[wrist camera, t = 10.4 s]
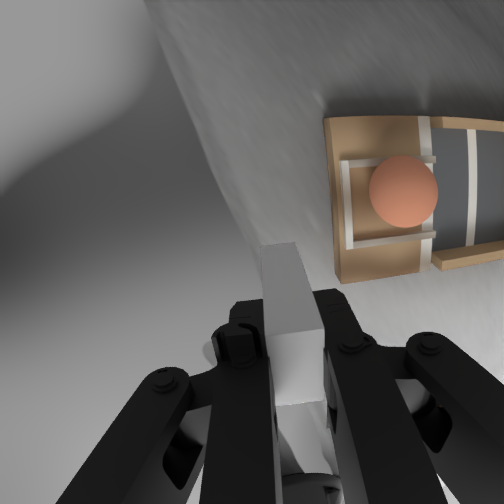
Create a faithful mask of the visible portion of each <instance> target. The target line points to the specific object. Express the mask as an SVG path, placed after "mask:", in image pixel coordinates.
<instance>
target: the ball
mask: <svg viewBox="0 0 504 504" xmlns="http://www.w3.org/2000/svg"><path fill="white" fill-rule="evenodd" d="M369 195H370V200H371V203H372V206H373V208H374V210H375V211H376V213H377V214H378V215H379V216H380V217H381V218H382V219H383V220H384V221H386V222H387V223H389V224H391V225H393V226H396V227H403V228H409V227H414V226H417V225H419V224H421V223H423V222H424V221H425V220H427V219H428V218H429V216H430V215H431V214H432V213H433V211H434V209H435V207H436V204H437V200H438V186H437V182H436V179H435V177H434V175H433V173H432V172H431V170H430V169H429V168H428V167H427V166H426V165H425V164H424V163H423V162H422V161H420V160H418V159H416V158H414V157H411V156H406V155H398V156H393V157H390V158H388V159H386V160H384V161H383V162H382V163H381V164H379V165H378V166H377V168H376V169H375V171H374V172H373V174H372V177H371V180H370V184H369Z"/></svg>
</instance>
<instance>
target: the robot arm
mask: <svg viewBox="0 0 504 504" xmlns="http://www.w3.org/2000/svg"><path fill="white" fill-rule="evenodd" d="M261 266H262V286H263V299H258V300H249V301H240V302H236V304H235V305H234V306H233V307H232V308H231V310H230V315H229V323H227V324H225V325H223V326H220V327H219V328H218V329H217V330H215V332H214V333H213V335H212V337H211V339H212V343H213V347H214V351H215V355H216V358H217V362H218V363H217V366H216V367H214V368H213V369H211V370H209V371H206V372H204V373H201V374H197V375H194V376H190V377H189V375H188V373H187V372H185V371H184V370H183V369H180V368H177V367H165V368H161V369H157V370H155V371H154V372H152V373H150V374H149V375H148V376H147V377H146V378H145V379H144V380H143V381H142V382H141V384H140V385H139V387H138V388H137V390H136V391H135V392H134V394H133V395H132V396H131V398H130V399H129V401H128V402H127V403H126V405H125V406H124V407H123V409H122V410H121V412H120V413H119V414H118V416H117V417H116V419H115V420H114V421H113V423H112V424H111V426H110V427H109V428H108V430H107V431H106V433H105V434H104V436H103V437H102V438H101V440H100V441H99V442H98V444H97V445H96V447H95V448H94V450H93V451H92V453H91V454H90V455H89V457H88V458H87V460H86V461H85V462H84V464H83V465H82V466H81V468H80V469H79V471H78V472H77V474H76V475H75V476H74V478H73V479H72V481H71V482H70V484H69V485H68V486H67V488H66V489H65V491H64V492H63V494H62V495H61V496H60V498H59V499H58V501H57V502H56V504H186V502H187V500H188V498H189V496H190V493H191V491H192V488H193V487H194V484H195V482H196V480H197V478H198V476H199V473H200V471H201V469H202V466H203V464H204V468H203V476H202V484H201V493H200V501H199V504H342V502H343V497H344V500H345V504H448V502H447V499H446V497H445V494H444V492H443V489H442V486H441V484H440V481H439V479H438V476H437V474H438V475H439V477H440V478H441V479H442V481H443V482H444V483H445V485H446V486H447V487H448V488H449V490H450V491H451V492H452V494H453V495H454V496H455V498H456V499H457V500H458V501H459V503H460V504H504V385H503V384H502V383H501V382H500V381H499V380H498V379H496V378H495V377H494V376H493V375H492V374H490V373H489V372H488V371H487V370H486V369H485V368H483V367H482V366H481V365H480V364H479V363H477V362H476V361H475V360H474V359H473V358H471V357H470V356H469V355H468V354H466V353H465V352H464V351H463V350H462V349H460V348H459V347H458V346H457V345H455V344H454V343H453V342H452V341H450V340H449V339H448V338H447V337H445V336H443V335H441V334H438V333H434V332H421V333H417V334H415V335H413V336H412V337H410V338H409V340H408V341H407V343H406V347H386V346H381V345H378V344H377V342H376V341H375V339H374V338H373V337H372V336H370V335H368V334H366V333H364V332H363V331H362V329H361V327H360V325H359V323H358V321H357V319H356V317H355V315H354V313H353V311H352V310H351V307H350V305H349V304H348V301H347V299H346V297H345V295H344V294H343V293H341V292H340V291H338V290H337V289H335V288H333V289H326V290H319V291H312V290H311V287H310V284H309V281H308V278H307V275H306V272H305V269H304V266H303V263H302V261H301V258H300V255H299V252H298V249H297V246H296V244H295V242H292V243H284V244H276V245H268V246H261ZM325 394H326V398H327V428H330V429H331V434H332V439H333V444H334V448H335V453H336V458H337V463H338V468H339V473H340V478H338V477H336V476H334V475H330V474H324V473H303V474H295V475H290V476H285V477H282V478H281V467H280V452H279V437H278V423H277V415H276V407H277V406H285V405H294V404H302V403H309V402H316V401H322V400H325ZM436 473H437V474H436Z"/></svg>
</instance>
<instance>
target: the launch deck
mask: <svg viewBox="0 0 504 504" xmlns="http://www.w3.org/2000/svg"><path fill="white" fill-rule="evenodd" d="M323 126H324V134H325V143H326V152H327V162H328V172H329V183H330V195H331V208H332V222H333V239H334V259H335V274H336V276H337V278H338V279H339V281H340V283H341V284H347V283H354V282H360V281H367V280H373V279H380V278H386V277H392V276H398V275H404V274H410V273H416V272H422V271H427V270H430V264H431V250H432V238H436V231H435V230H433V213H432V214H431V215H430V216H429V218H428V219H427V220H425V221H424V222H423V223H421V224H419V225H417V226H414V227H409V228H403V227H396V226H393V225H391V224H389V223H387V222H386V221H384V220H383V219H382V218H381V217H380V216H379V215H378V214H377V213H376V211H375V210H374V208H373V206H372V203H371V200H370V195H369V184H370V180H371V177H372V174H373V172H374V171H375V169H376V168H377V166H378V165H379V164H381V163H382V162H383V161H384V160H386V159H388V158H390V157H393V156H398V155H406V156H411V157H414V158H416V159H418V160H420V161H422V162H423V163H424V164H425V165H426V166H427V167H428V168H429V169H430V170H431V172H432V173H433V163H436V156H433V155H432V142H431V129H430V118H429V116H351V117H332V118H325V119H323Z"/></svg>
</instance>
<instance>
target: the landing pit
mask: <svg viewBox="0 0 504 504" xmlns="http://www.w3.org/2000/svg"><path fill="white" fill-rule="evenodd" d="M429 118H430V129H431V142H432V155H433V156H436V163H433V175H434V177H435V179H436V182H437V186H438V200H437V204H436V207H435V209H434V211H433V230H435V231H436V238H432V250H431V263H433V264H434V265H435V266H436V267H437V268H438V269H440V270H441V271H444V270H449V269H455V268H460V267H465V266H470V265H475V264H480V263H485V262H489V261H494V260H499V259H504V122H502V121H493V120H484V119H473V118H460V117H443V116H440V117H429Z"/></svg>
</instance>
